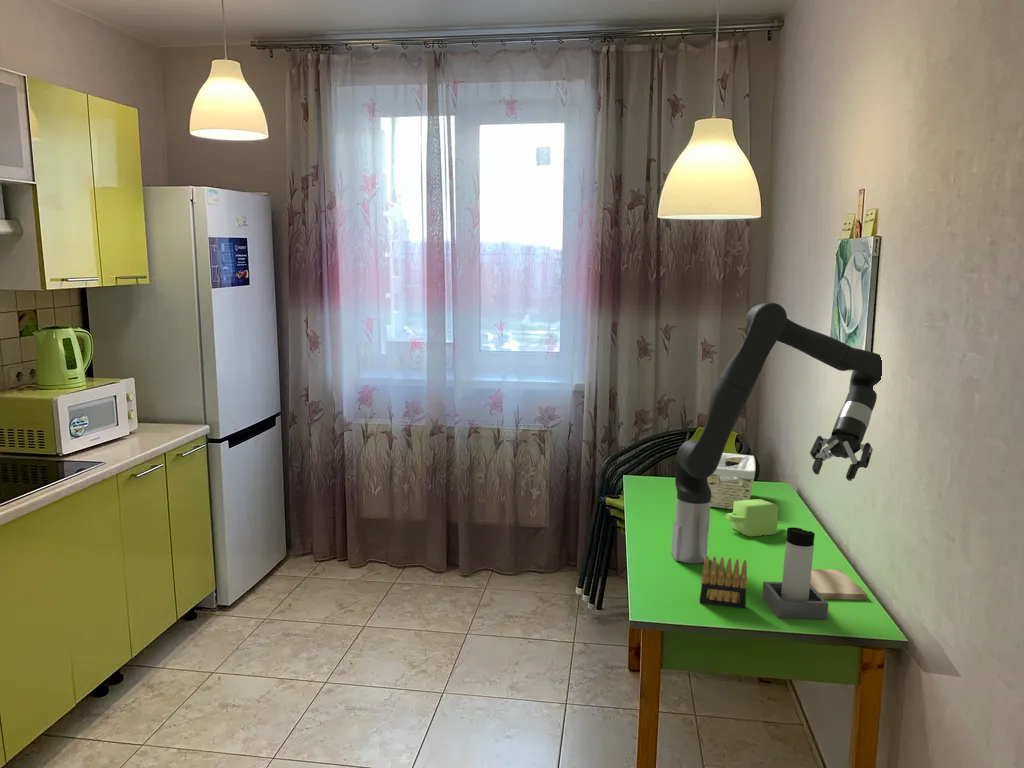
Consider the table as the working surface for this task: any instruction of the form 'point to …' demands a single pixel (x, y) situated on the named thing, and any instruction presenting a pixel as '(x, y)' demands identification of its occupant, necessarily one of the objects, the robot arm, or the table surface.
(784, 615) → the socket collar
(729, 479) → the storage basket
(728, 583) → the ammunition clip
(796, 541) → the travel mug
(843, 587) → the beige wavy board
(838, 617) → the table surface
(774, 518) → the lime tabbed block
